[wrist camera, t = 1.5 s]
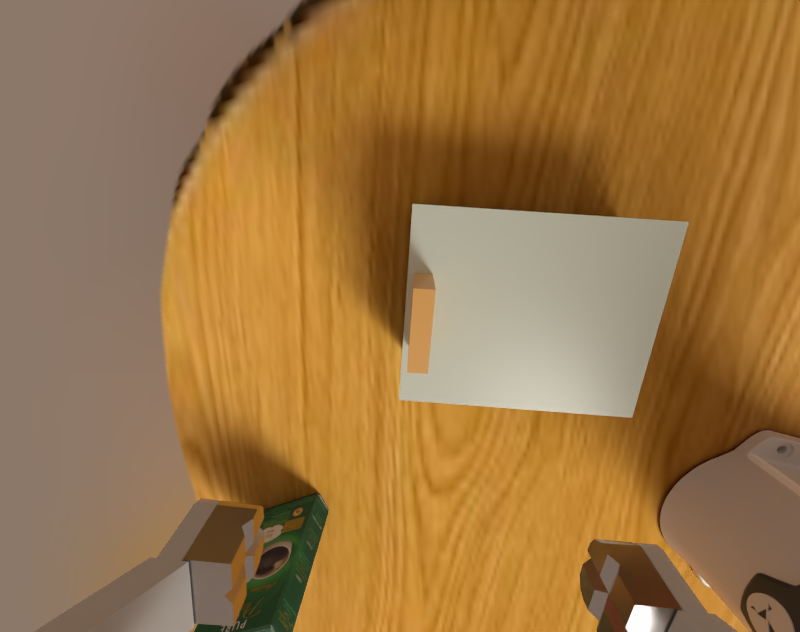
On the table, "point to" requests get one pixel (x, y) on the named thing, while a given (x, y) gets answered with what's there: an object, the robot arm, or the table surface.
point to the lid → (533, 307)
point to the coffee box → (280, 568)
